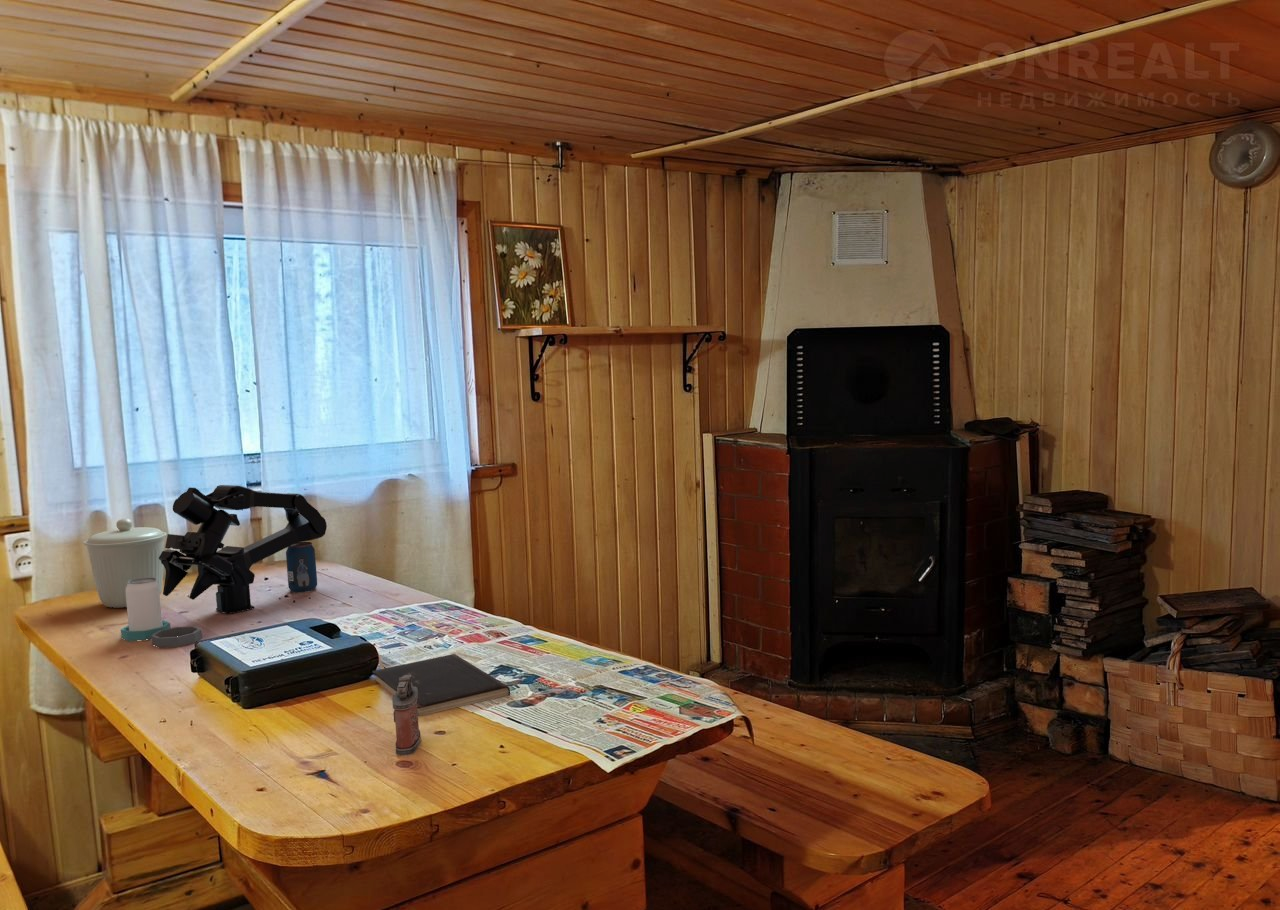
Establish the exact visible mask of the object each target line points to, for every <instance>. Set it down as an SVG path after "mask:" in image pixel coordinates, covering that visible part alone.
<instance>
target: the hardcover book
mask: <svg viewBox="0 0 1280 910" xmlns="http://www.w3.org/2000/svg"><path fill="white" fill-rule="evenodd" d="M372 674H374V676H375V681H376V682H377V683H378V684H379V685H381V686H382V687H383V688H385V690H387V691H388V692H390V693H391V694H392V695H393V696H394V695H395V693H396V692H397V687H398V685H399V677H403V676H404V675H411V683H412V686H415V687H417V690H418V698H417V709H418V717H422V716H427V715H431V714H436V713H439V712H444V711H448V710H453V709H456V708H460V707H465V706H469V705H473V704H476V703H481V702H482V703H483V702H486V701H489V700H493V699H494V700H495V699H498V698H502V697H506V696H507V697H508V696H511V689H510V687H509V686H508V685H507V684H505V683H503V682H501V681H500V680H498V679H497V678H495V677H493V676H492V675H490V674H488V673H487V672H485V671H484V670H482V669H480V668H478V667H477V666H475V665H474V664H472V663H471V662H469V661H467V660H465V659H464V658H463V657H460V656H459V655H457V654H456V653H451V654H448V655H443V656H438V657H433V658H429V659H428V658H427V659H423V660H417V661H415V662H409V663H404V664H400V665H395V666H390V667H385V668H381V669H376V670H372Z"/></svg>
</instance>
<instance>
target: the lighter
mask: <svg viewBox="0 0 1280 910" xmlns="http://www.w3.org/2000/svg"><path fill="white" fill-rule="evenodd" d="M417 698H418V690H417V687H415V686H412V683H411V675H404V676H403V677H399V685H398V687H397V692H396V693H395V695H393V697H392V709H393V722H394V724H395V738H396V741H395V744H394V745H395V754H396V756H401V757H402V756H404V757H405V756H410V755H412V754H414V753H415V752H416V751H417V750H418V749H419V747H420V745H421V742H422V738H421V737H422V736H421V734H422V733H421V730H420V729H419V726H420V725H419V715H418V709H417Z"/></svg>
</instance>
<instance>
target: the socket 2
mask: <svg viewBox="0 0 1280 910" xmlns="http://www.w3.org/2000/svg"><path fill="white" fill-rule="evenodd" d="M177 636H178V637H177ZM200 638H201V639H203V631H202V628H201V627H198V626H196V625H188V626H187V625H186V626H184V625H183V626H174V627H170V628H169V629H165V630H160V631H158V632H156V633H155V634H153V635H151V645H152V646H153V645H155V646H154V647H156V646H157V647H156V648H158V647H159V648H158V649H161V648H160V647H169V648H178V646H180V647H183V646H182V645H184V646H188V645H191V643H192V644H196V643H197V642H198V641H200V640H201V639H200ZM196 641H197V642H196ZM193 642H194V643H193ZM195 642H196V643H195ZM187 644H188V645H187Z"/></svg>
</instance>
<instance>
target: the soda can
mask: <svg viewBox="0 0 1280 910" xmlns="http://www.w3.org/2000/svg"><path fill="white" fill-rule="evenodd" d="M285 558H286V561H285V562H286V570H287V571H286V572H287V573H286V574H287V586H288V587H287V588H288V589H289V590H290V592H292V593H294V594H302V593H309V592H312V591H315V590H316V588H317V587H318V577H317V562H316V559H317V558H316V550H315V548H314V546H313V543H312V542H311V541H303V542H297V543H295V544H293V545H291V546H289V547H287V548H286V551H285Z"/></svg>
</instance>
